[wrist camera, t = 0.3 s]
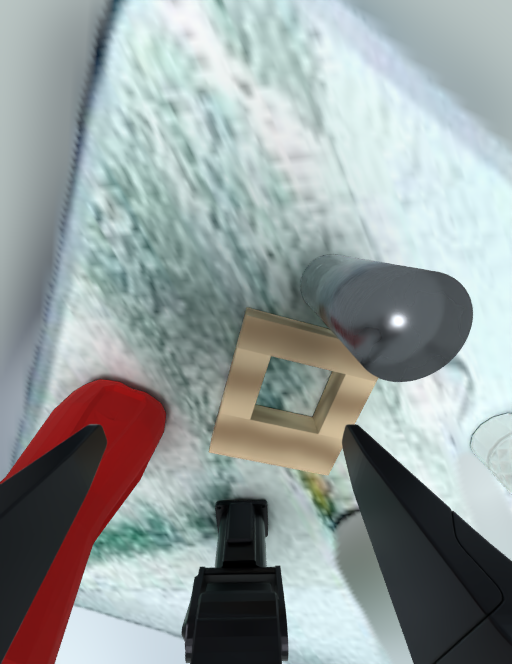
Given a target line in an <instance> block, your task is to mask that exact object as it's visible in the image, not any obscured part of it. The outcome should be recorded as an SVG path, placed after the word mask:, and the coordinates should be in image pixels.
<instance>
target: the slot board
mask: <svg viewBox="0 0 512 664" xmlns="http://www.w3.org/2000/svg"><path fill="white" fill-rule="evenodd" d="M271 356H273V357H277V358H281V359H285V360H289V361H293V362H297V363H302V364H306V365H310V366H314V367H318V368H322V369H326V370H330V371H332V373H331V376H330V378H329V380H328V383H327V385H326V387H325V390H324V392H323V394H322V396H321V399H320V401H319V403H318V406H317V408H316V410H315V413H314V415H313V417H309V416H305V415H300V414H296V413H291V412H287V411H282V410H278V409H273V408H268V407H264V406H259V405H255V403H256V400H257V397H258V394H259V391H260V388H261V385H262V382H263V379H264V376H265V373H266V370H267V367H268V364H269V361H270V358H271ZM377 379H378V377H376V376H374V375H372V374H371V373H369V372H368V371H367V370H366V369H365V368H364V367H363V366H362V365H361V364H360V363H359V361H358V360H357V359H356V358H355V357H354V356H353V355H352V354H351V352H350V351H349V350H348V349H347V348H346V347H345V346H344V344H343V343H342V342H341V341H340V340H339V339H338V338H337V337H336V335H335V334H334V333H333V332H332V331H331V330H330V329H327V328H324V327H320V326H316V325H312V324H308V323H305V322H301V321H297V320H293V319H289V318H286V317H282V316H278V315H274V314H270V313H267V312H263V311H259V310H255V309H252V308H248V307H247V308H246V312H245V316H244V319H243V323H242V327H241V330H240V334H239V338H238V341H237V345H236V349H235V352H234V356H233V360H232V364H231V367H230V371H229V375H228V378H227V382H226V386H225V389H224V393H223V397H222V400H221V404H220V408H219V412H218V415H217V419H216V423H215V426H214V430H213V434H212V438H211V443H210V448H209V453H214V454H220V455H225V456H230V457H235V458H240V459H245V460H251V461H256V462H261V463H266V464H271V465H276V466H282V467H287V468H292V469H297V470H302V471H307V472H312V473H318V474H323V475H329V473H330V471H331V469H332V467H333V465H334V463H335V461H336V459H337V457H338V455H339V454H340V452H341V450H342V448H343V447H342V437H343V433H344V429H345V426H346V425H348V424H355V422H356V420H357V418H358V416H359V415H360V413H361V411H362V409H363V407H364V405H365V403H366V401H367V399H368V397H369V395H370V393H371V391H372V389H373V387H374V385H375V383H376V381H377Z"/></svg>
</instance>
